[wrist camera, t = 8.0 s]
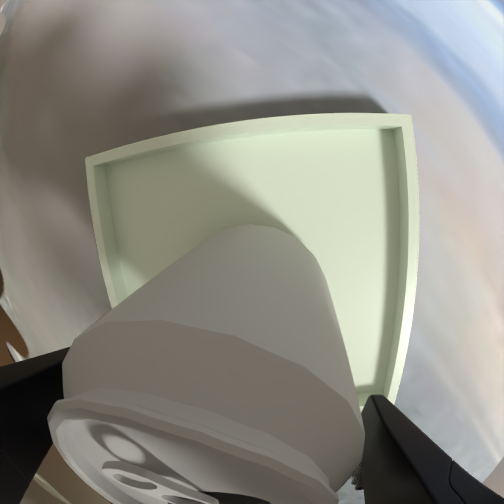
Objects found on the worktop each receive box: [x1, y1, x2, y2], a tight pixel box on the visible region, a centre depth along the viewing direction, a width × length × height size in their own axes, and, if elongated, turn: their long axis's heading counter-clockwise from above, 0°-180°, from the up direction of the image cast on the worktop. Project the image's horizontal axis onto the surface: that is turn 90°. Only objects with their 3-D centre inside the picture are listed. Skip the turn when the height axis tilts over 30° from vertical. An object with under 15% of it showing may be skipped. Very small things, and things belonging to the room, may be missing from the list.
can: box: [47, 224, 365, 504], centre depth 9 cm, size 8×8×12 cm
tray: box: [85, 113, 419, 412], centre depth 15 cm, size 17×17×2 cm
